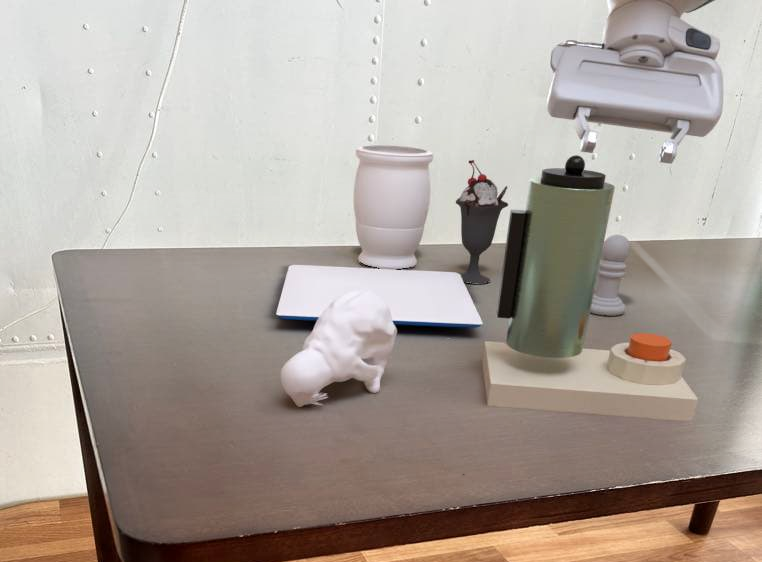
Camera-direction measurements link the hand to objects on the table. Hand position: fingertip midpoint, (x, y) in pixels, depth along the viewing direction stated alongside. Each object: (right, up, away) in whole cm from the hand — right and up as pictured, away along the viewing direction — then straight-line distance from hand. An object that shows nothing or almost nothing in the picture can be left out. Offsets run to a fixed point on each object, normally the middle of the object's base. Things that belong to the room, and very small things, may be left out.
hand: (627, 154), depth 96 cm
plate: (-30, -18, +2) cm, 35 cm away
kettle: (-15, -27, -20) cm, 37 cm away
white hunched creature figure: (-34, -33, -23) cm, 52 cm away
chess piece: (-1, -17, +6) cm, 18 cm away
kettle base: (-11, -31, -19) cm, 38 cm away
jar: (-28, -6, +21) cm, 35 cm away
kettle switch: (-5, -29, -21) cm, 36 cm away
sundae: (-16, -10, +16) cm, 25 cm away
